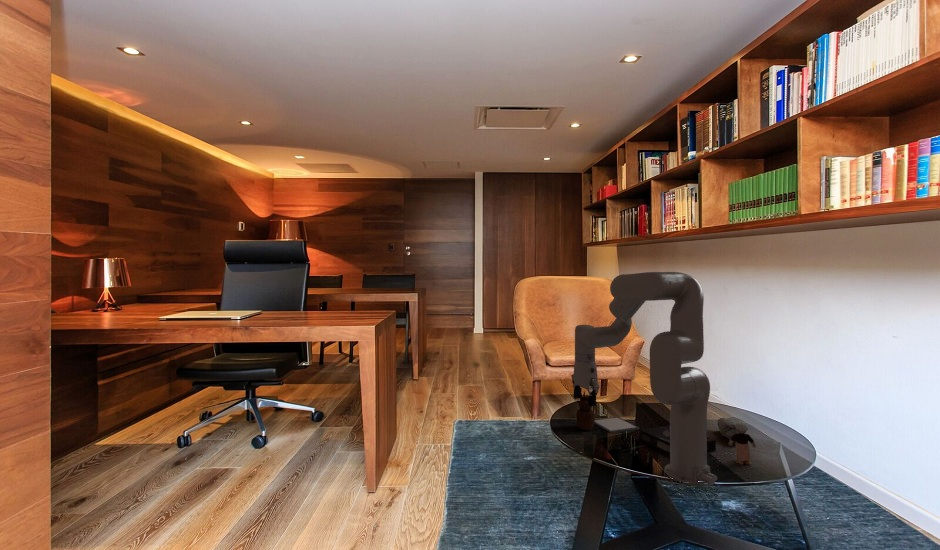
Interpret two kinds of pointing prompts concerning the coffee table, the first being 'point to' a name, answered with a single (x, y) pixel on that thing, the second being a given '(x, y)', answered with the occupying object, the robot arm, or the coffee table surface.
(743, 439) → the toy figure
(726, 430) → the decorative bird
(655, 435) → the portable cd player
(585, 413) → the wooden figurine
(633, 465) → the coffee table surface
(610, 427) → the card
